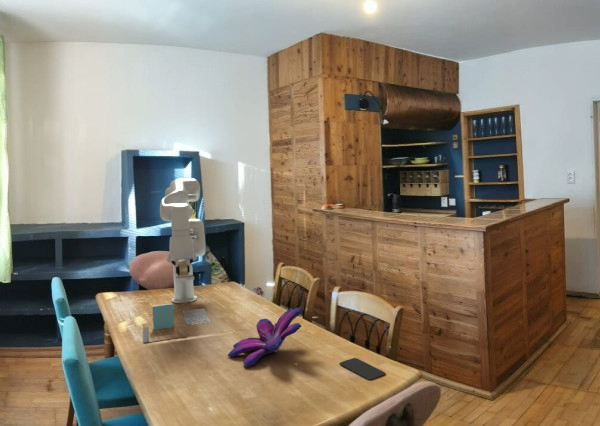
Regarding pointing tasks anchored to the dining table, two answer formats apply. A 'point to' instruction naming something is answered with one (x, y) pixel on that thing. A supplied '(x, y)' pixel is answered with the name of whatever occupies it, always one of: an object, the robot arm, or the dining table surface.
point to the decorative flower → (267, 337)
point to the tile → (163, 316)
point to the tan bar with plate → (183, 272)
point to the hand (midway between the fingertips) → (182, 274)
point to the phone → (362, 369)
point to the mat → (146, 336)
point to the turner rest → (195, 316)
